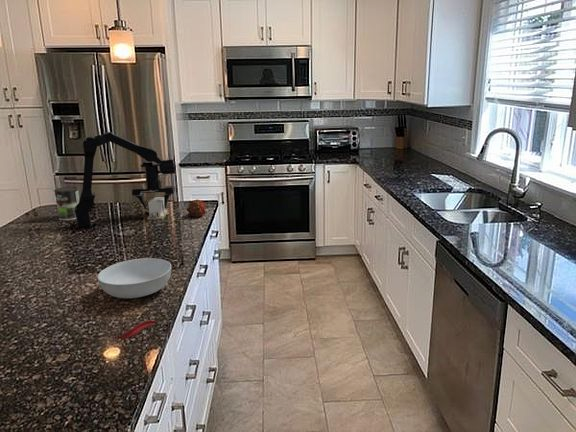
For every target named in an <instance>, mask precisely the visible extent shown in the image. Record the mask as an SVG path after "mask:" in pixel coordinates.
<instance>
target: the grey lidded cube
mask: <svg viewBox="0 0 576 432" xmlns="http://www.w3.org/2000/svg"><path fill="white" fill-rule="evenodd" d="M147 203H148V204H147V205H148V213H149V215H150V217H152V216H153V215H152V214H153V213H158V217H161V215H162V214H163V211H162V201H161V199H156V200H153V199H149V200H148V202H147ZM149 215H148V216H149Z"/></svg>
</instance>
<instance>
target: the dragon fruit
mask: <svg viewBox="0 0 576 432" xmlns="http://www.w3.org/2000/svg"><path fill="white" fill-rule="evenodd" d="M206 210H207V205H206V203H205V202H204V201H202V200H201V199H195V200H193V201H190V203H189V204H188V207H187V208H186V211H187V212H188V214H190V216H192V217H197V218H200V217H201V216H204V215H205V214H206V212H207V211H206Z"/></svg>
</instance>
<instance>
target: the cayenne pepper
mask: <svg viewBox="0 0 576 432" xmlns="http://www.w3.org/2000/svg"><path fill="white" fill-rule="evenodd" d="M156 323H158V321H156V320H146V321H143V322H140V323H138V324H136V325H135V326H134V327H132V328H131V329H130V330H128V331H127V332H125V333H123V334H121V335H119V336H116V337H115V338H116V339H118V338H119V339H128V338H132V337H134V336H136V335H137V334H139V333H141V332H142V331H143V330H145V329H147V328H149V327H151V326H154V325H156Z"/></svg>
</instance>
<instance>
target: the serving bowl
mask: <svg viewBox="0 0 576 432" xmlns="http://www.w3.org/2000/svg"><path fill="white" fill-rule="evenodd" d="M171 274H172V264H171V262H170V261H167V260H165V259H161V258H154V257H153V258H151V257H143V258H142V257H141V258H135V259H128V260H124V261H120V262H117V263H114V264H112V265H109V266H107V267H106V268H104V269H102V270H101V271H100V272H99V273H98V275H97V277H96V278H97V280H98V284H99V286H100V287H101V289H102V290H103V291H104V293H106V294H107V295H110V296H112V297H115V298H118V299H137V298H143V297H146V296H149V295H152V294H154V293H156V292H159V291H160V290H161V289H162V288H164V287H165V286H166V285H167V283H168V282H169V280H170V279H171Z"/></svg>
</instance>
